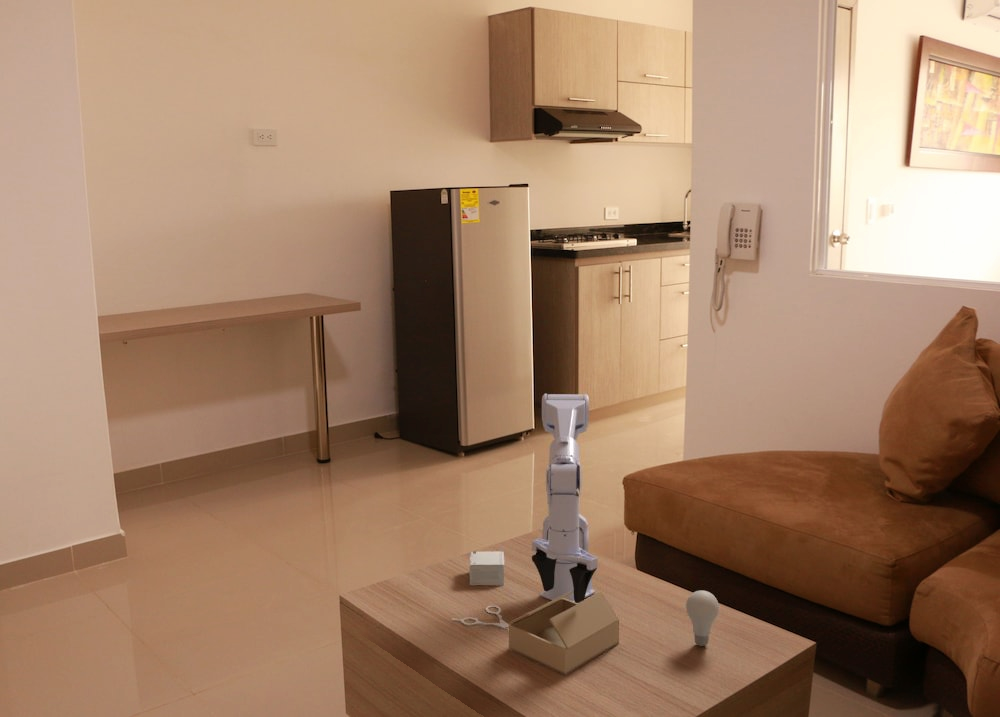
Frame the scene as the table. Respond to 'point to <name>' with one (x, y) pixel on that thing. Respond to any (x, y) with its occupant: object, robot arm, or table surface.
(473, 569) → the small box
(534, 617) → the carton
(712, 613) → the lightbulb
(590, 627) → the flap
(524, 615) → the flap
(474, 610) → the table surface
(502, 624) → the scissors
